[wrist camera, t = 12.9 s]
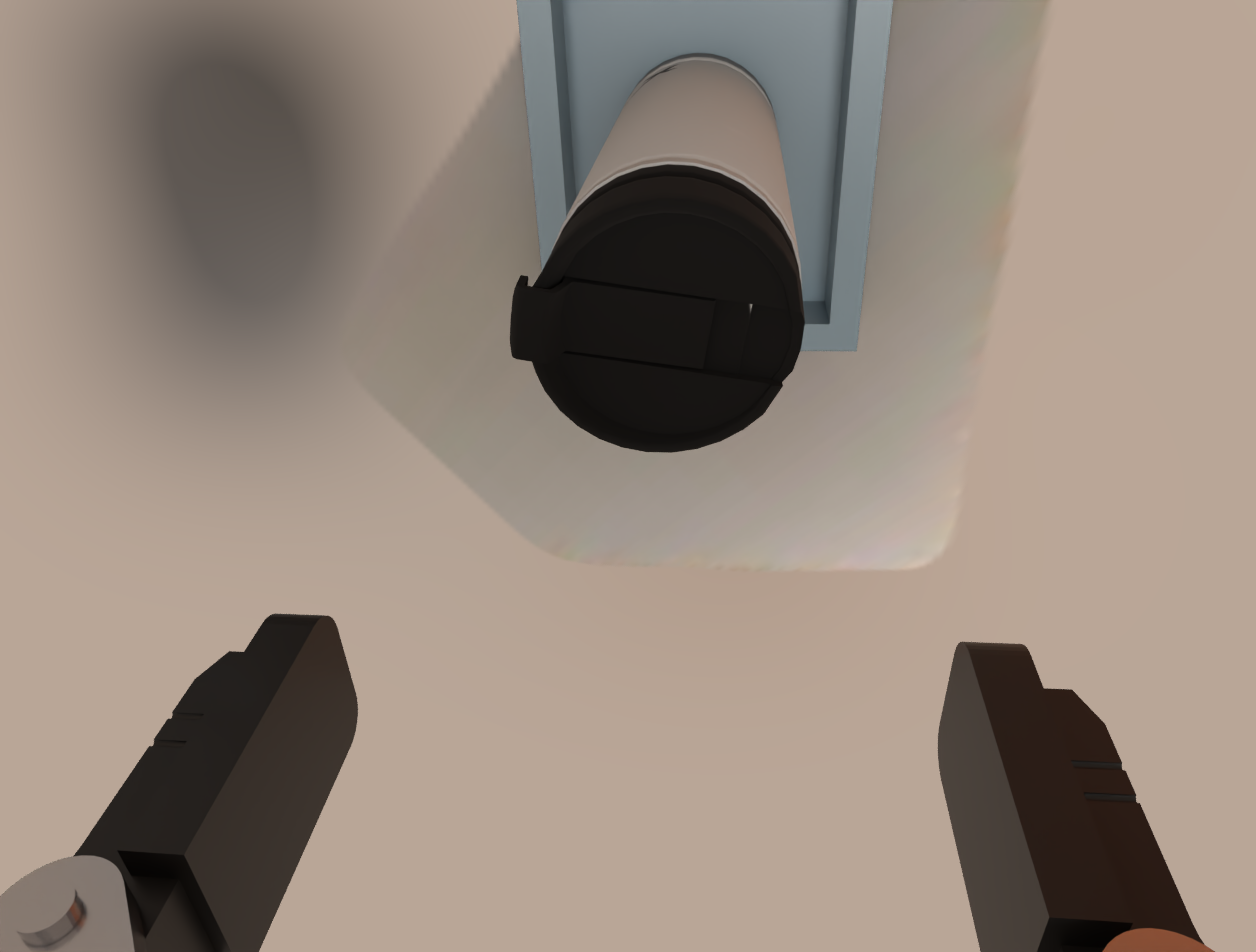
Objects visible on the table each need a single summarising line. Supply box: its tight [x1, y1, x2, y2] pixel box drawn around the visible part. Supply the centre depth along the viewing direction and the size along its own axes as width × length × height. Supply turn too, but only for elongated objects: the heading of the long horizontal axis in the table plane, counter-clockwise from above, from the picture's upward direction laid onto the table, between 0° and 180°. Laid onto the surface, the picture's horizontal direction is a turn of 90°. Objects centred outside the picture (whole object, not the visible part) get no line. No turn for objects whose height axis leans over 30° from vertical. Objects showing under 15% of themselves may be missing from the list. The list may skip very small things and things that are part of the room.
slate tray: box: [517, 0, 893, 351], centre depth 36 cm, size 16×13×4 cm
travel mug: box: [510, 53, 805, 452], centre depth 28 cm, size 6×7×20 cm
